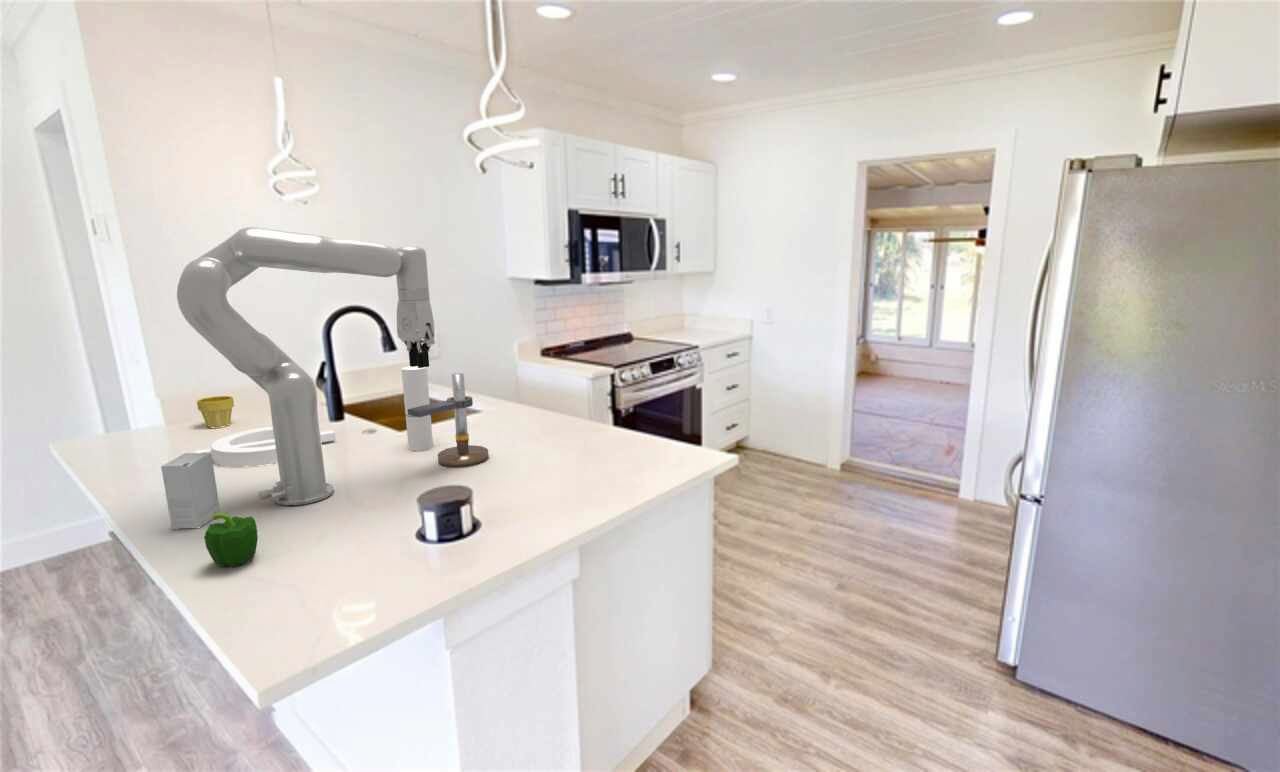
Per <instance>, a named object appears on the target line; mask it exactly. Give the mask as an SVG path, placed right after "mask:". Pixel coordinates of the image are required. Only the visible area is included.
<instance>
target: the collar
mask: <svg viewBox="0 0 1280 772" xmlns="http://www.w3.org/2000/svg"><path fill="white" fill-rule="evenodd" d="M473 405H474V402H473V397H472V396H469V395H465V400H459V401H454V398H453V396H451V397H448V398H447V399H446V400H442V401H441V400H440V401H437V402H434V403H433V402H432V403H430V404H428V405H424V406H419V407H415V408H411V409H408V415H412V416H416V417H423V416H427V415H435V414H439V413H443V412H446V411H451V410H454V409H458V408H466V409H467V408H470V407H471V408H472V406H473Z"/></svg>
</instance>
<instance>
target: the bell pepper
mask: <svg viewBox="0 0 1280 772" xmlns="http://www.w3.org/2000/svg"><path fill="white" fill-rule="evenodd" d="M212 518H213V519H212V520H214V521H217V520H218V519H222V520H224V522H215V523H210V525H209V526H208V528H207V529H206V532H205V534H204V538H203V539H204V542H205V547H206V550H207V552H208V553H209V556H210V558H211V560H212V561H213V562H214V564H215V565H216V566H218V567H226V566H229V567H238V566H242V565H244V564H247V563H249V562H250V561H251V560H253V558H254V557H255V555H256V551H257V547H258V546H257V545H258V528H257V527H258V526H257V524H256V523H257V522H256V520H255V518H253V516H247V517H240V516H235V515H234V516H230V515H229V514H226V513H219V514H215V515H213V516H212ZM248 561H249V562H248Z"/></svg>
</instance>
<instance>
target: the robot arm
mask: <svg viewBox="0 0 1280 772" xmlns="http://www.w3.org/2000/svg"><path fill="white" fill-rule="evenodd" d="M427 262H428V261H427V251H426V250H425V248H423V247H419V246H400V247H397V248H396V247H391V246H389V245H386V244H379V243H370V242H363V241H355V240H348V239H346V240H345V239H338V238H333V237H328V236H323V235H315V234H309V233H301V232H292V231H284V230H277V229H269V228H263V227H254V226H247V227H243V228H240V229H239V230H238V231H236V232H235V233H234V234H232V235H231V236H230V237H228V238H227V239H225V240H224V241H223V242H221V243H220V244H218V245H217V246H215V247H213V248H212V249H211V250H209V251H207V252H206V253H204V254H203V255H201V256H199V257H198V258H195V259H192V260H191V261H190V262H189V263H188V264H187V265H186V266H185V267H184V268H183V271H182V273H181V275H180V277H179V281H178V285H177V289H176V290H177V291H176V300H177V304H178V308H179V310H180V312H181V314H182V316H183V318H184V319H185V320H186V322H187V323H188V324H189V325H190V326H191V328H192V329H193V330H194V331H196V333H198V334H199V335H200V336H201V338H203V339H205V340H206V341H207V342H208V343H209V344H210V345H211V346H212V347H213V348H214V349H215V350H216V351H217V352H219V353H220V354H221V356H223V357H224V358H225V359H227V361H228V362H230V363H231V365H232V366H233V368H235V369H236V370H237V371H239V372H241V373H242V374H244V375H246V376H247V377H248V378H249V379H251V380H252V381H253V382H254V383H255V384H257V386H259V387H260V388H261V389H262V390H264V391H265V392H266V393H267V395H268V400H269V407H270V416H271V422H272V424H271V425H272V427H273V432H274V438H275V446H276V453H277V460H278V464H277V467H278V472H279V473H278V474H279V480H280V481H275V485H274V486H273V487H272V488H271V489H266V490H262V491H259V492H258V498H259V499H260V501H262V500H267V499H269V498H270V499H271V500H274V501H275V503H276V504H279V505H280V504H281V506H287V505H295V506H302V504H304V505H309V504H313V503H317V502H319V501H323V500H325V499H327V498H329V497H330V496H332V495H333V493H334V492H335V488H334V485H333V484H331V483H327V481H326V480H327V479H326V473H325V464H324V456H323V447H322V446H323V445H322V446H321V437H320V432H321V429H320V424H319V413H318V394H317V388H316V385H315V382H314V380H313V378H312V377H311V376H310V375H309V374H308V373H307V372H306V371H305V370H304V369H303V368H302V367H301V366H299V364H297V362H295V361H294V360H293V359H292V358H291V357H290V356H289V355H287V353H285V351H283V350H282V349H281V348H280V347H279V346H278V345H277V344H276V343H274V342H273V340H272V339H271V338H269V337H268V336H267V335H265V334H264V333H262V332H259V331H257V329H256V328H254V326H252V325H251V324H250V323H249V322H248V321H246V319H245V318H243V316H242V315H241V314H240V313H239V312H238V311H237V310H235V309H234V307H232V305H231V304H230V302H229V301H228V298H227V293H228V291H229V289H230V288H231V287H233V286H235V285H236V284H238V283H239V282H240V281H242V280H243V279H245V278H246V277H248V276H250V275H251V274H252V273H253V272H255V271H256V270H257V269H259V268H270V269H277V270H279V269H281V270H287V271H288V270H289V271H299V272H308V273H309V272H310V273H320V274H329V273H330V274H332V273H333V274H337V273H339V274H348V275H349V274H352V275H362V276H369V277H370V276H371V277H376V278H377V277H378V278H391V277H393V276H395V275H396V285H397V287H396V288H397V298H398V301H397V306H396V331H397V338H398V339H400V340H401V342H403V343H404V345H405V346H406V351H407V352H408V358H409V359H408V360H409V361H408V362H409V366H410V367H415V366H418V368H424V367H427V368H429V367H430V359H429V358H430V357H429V352H430V348H431V346H433V345H434V344H435V342H436V341H435V321H434V315H433V310H432V306H431V302H430V300H431V299H430V288H429V287H430V286H429V278H428V277H429V275H428V273H429V272H428V264H427ZM331 494H332V495H331ZM328 496H329V497H328ZM322 499H323V500H322ZM308 503H309V504H308Z"/></svg>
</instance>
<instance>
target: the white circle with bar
mask: <svg viewBox="0 0 1280 772" xmlns="http://www.w3.org/2000/svg"><path fill="white" fill-rule="evenodd" d="M320 437H321V445H322V446H323V443H325V442H332V441H336V433H335V430H328V431H320ZM194 453H211V454H212V461H213V463H214V462H215V463H216V465H217V464H219V465H218V466H220V465H223V466H222V467H225V466H229V467H228V468H245V467H244V466H256V467H258V466H257V465H265V464H271V463H277V462H278V460H277V453H276V446H275V438H274V432H273V426H266V427H259V428H253V429H249V430H243V431H240V432H236V433H232V434H229V435H226V436H223V437H221V438H218V439H216V440H215V441H214V442H212V444H211V445H210V448H205V449H204V448H203V449H199V450H198V449H197V450H195V451H194ZM215 463H214V464H215ZM265 466H266V465H265Z"/></svg>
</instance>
